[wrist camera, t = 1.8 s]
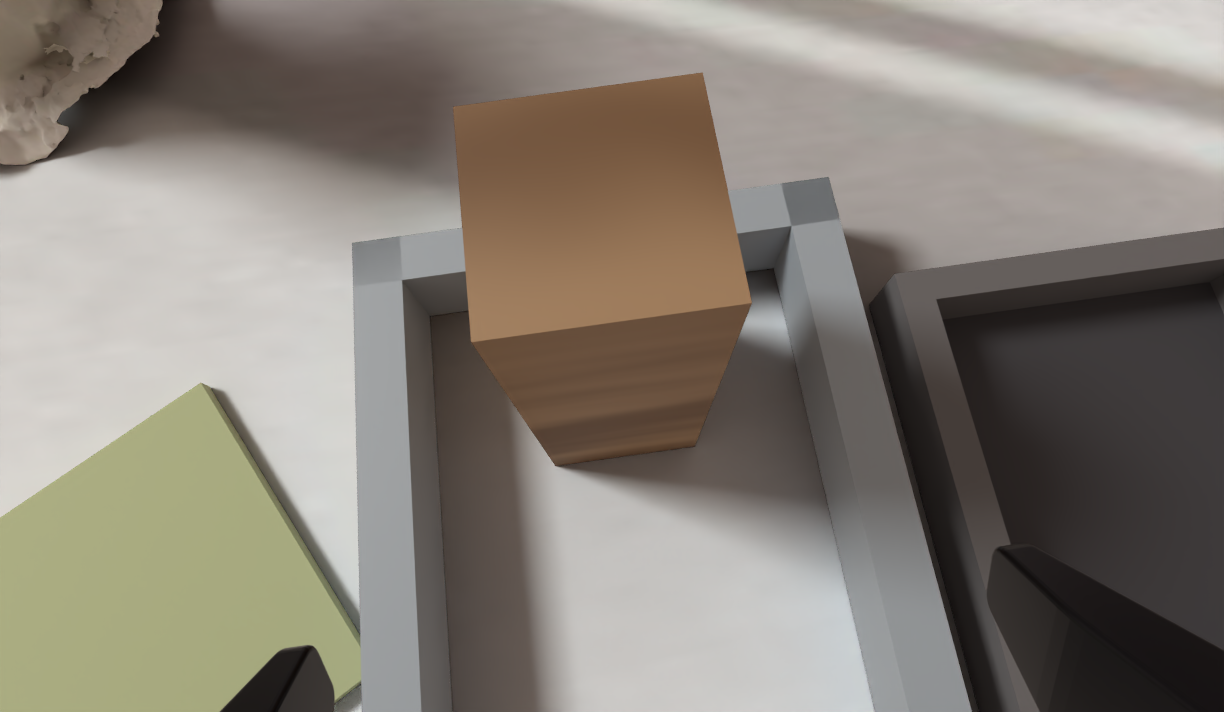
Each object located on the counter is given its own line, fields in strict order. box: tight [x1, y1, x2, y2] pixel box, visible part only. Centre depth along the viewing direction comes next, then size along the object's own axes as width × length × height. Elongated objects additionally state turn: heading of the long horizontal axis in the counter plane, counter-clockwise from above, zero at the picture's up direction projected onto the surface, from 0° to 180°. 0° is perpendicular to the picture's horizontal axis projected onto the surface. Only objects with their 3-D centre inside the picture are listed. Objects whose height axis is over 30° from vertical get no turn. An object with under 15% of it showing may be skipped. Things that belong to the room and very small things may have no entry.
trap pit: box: [869, 228, 1224, 712], centre depth 21 cm, size 14×12×2 cm
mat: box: [0, 383, 361, 712], centre depth 21 cm, size 11×11×1 cm
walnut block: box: [453, 73, 752, 466], centre depth 18 cm, size 4×4×12 cm
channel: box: [352, 177, 972, 712], centre depth 21 cm, size 18×15×3 cm
